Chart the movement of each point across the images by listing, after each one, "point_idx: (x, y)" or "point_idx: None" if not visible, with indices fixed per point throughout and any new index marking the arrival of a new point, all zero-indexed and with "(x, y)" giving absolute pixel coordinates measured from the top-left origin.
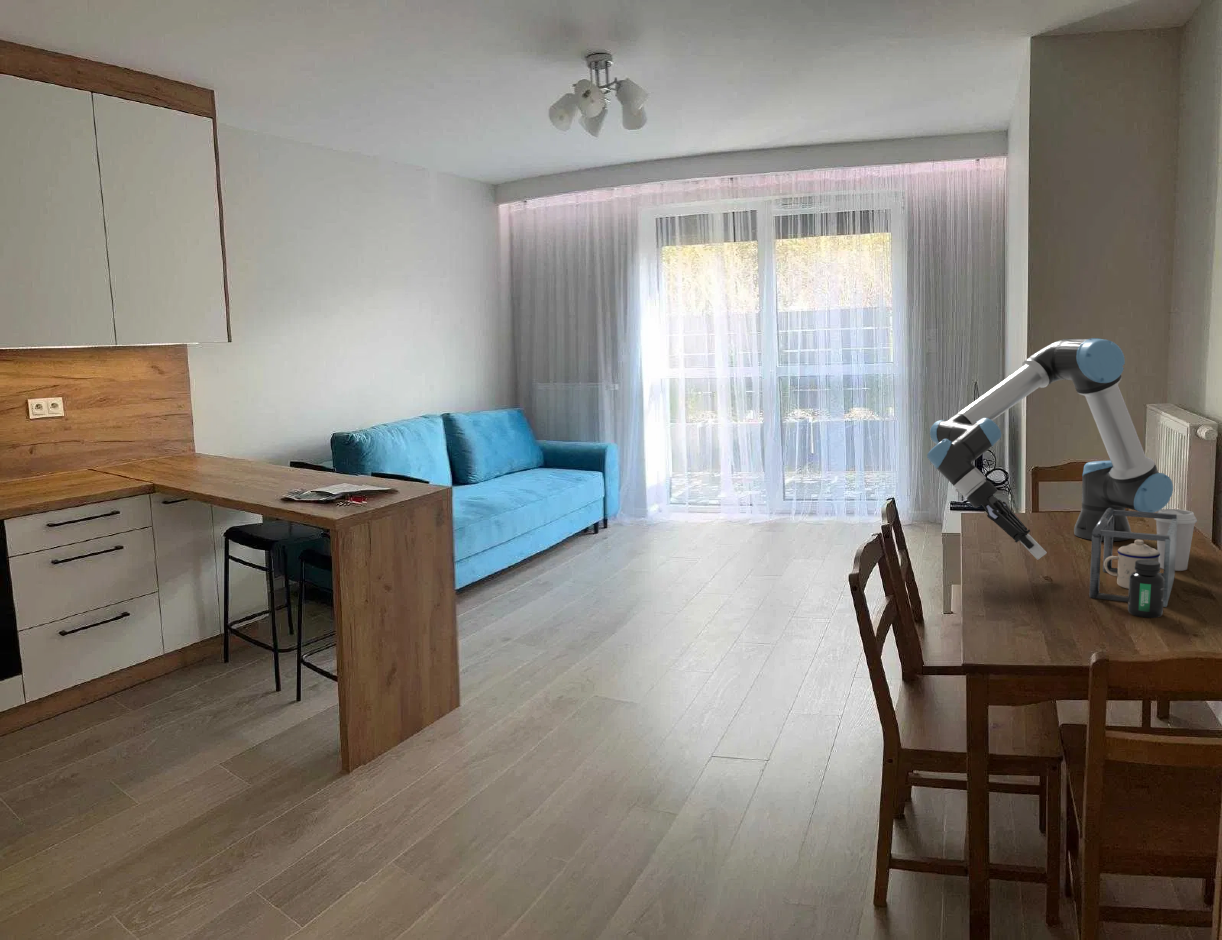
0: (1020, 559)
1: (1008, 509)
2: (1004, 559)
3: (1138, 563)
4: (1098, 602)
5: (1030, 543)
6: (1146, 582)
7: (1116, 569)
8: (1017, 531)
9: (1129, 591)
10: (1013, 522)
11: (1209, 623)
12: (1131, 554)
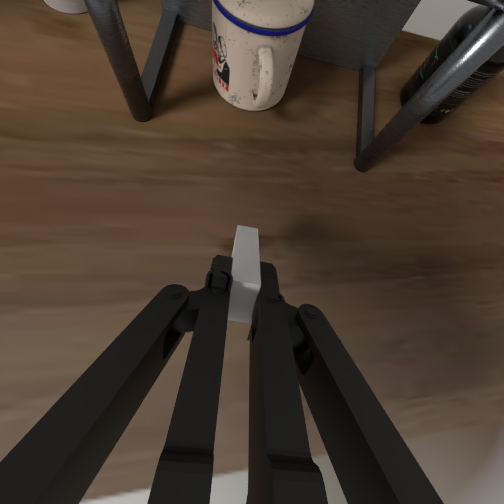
0: (30, 320)
1: (43, 494)
2: (37, 373)
3: None
4: (391, 161)
5: (276, 274)
6: None
7: (150, 91)
8: (333, 334)
9: (471, 91)
10: (284, 374)
11: (425, 39)
12: (311, 9)
